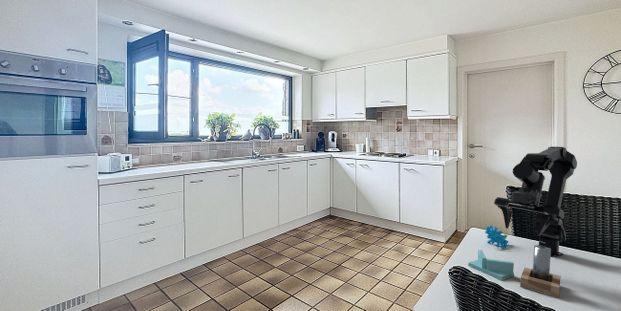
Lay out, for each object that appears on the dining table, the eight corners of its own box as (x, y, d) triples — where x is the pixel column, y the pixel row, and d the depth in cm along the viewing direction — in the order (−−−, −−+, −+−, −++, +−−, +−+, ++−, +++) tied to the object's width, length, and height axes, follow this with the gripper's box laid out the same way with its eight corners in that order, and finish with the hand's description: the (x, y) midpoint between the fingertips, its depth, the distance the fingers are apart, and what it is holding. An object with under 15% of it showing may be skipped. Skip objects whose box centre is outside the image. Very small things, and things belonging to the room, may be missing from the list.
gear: (496, 247, 117) (483, 224, 123) (485, 253, 121) (473, 231, 127) (516, 247, 120) (502, 225, 127) (505, 253, 124) (492, 231, 131)
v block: (479, 261, 107) (480, 249, 107) (515, 276, 96) (515, 262, 96) (467, 265, 104) (467, 252, 104) (502, 281, 93) (503, 266, 93)
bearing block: (524, 276, 96) (524, 267, 96) (560, 285, 90) (560, 276, 90) (520, 286, 90) (520, 277, 90) (558, 297, 84) (559, 287, 83)
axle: (538, 281, 93) (540, 244, 92) (552, 287, 89) (554, 249, 88) (529, 283, 92) (530, 246, 91) (542, 290, 88) (544, 250, 87)
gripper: (492, 177, 105) (482, 219, 103) (558, 184, 90) (548, 234, 87) (505, 186, 111) (495, 226, 109) (568, 195, 96) (559, 242, 93)
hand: (521, 232), depth 99 cm, fingers open, 9 cm apart
